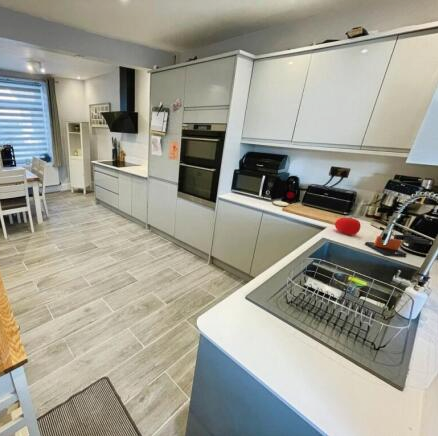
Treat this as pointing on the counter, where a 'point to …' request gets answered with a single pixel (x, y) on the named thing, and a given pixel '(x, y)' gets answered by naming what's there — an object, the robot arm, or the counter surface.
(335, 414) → the counter surface
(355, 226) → the tomato
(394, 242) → the orange rectangular block
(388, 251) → the dark grey square plate
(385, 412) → the counter surface
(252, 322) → the counter surface
